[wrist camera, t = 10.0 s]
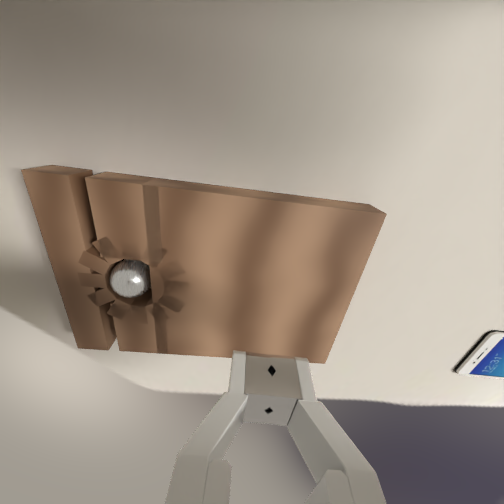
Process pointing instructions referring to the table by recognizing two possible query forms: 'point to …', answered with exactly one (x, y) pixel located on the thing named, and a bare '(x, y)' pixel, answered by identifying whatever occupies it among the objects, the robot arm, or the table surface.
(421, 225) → the table surface
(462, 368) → the smartphone
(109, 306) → the grooved wooden board
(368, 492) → the robot arm
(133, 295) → the ball
